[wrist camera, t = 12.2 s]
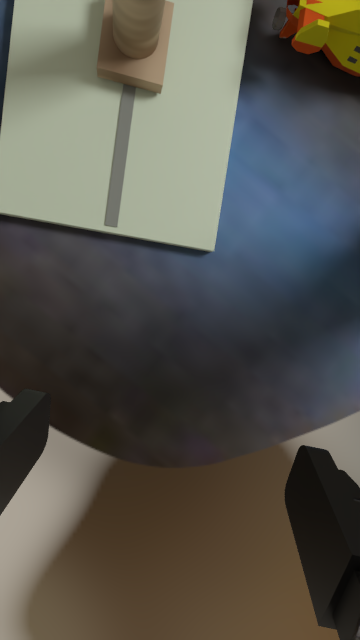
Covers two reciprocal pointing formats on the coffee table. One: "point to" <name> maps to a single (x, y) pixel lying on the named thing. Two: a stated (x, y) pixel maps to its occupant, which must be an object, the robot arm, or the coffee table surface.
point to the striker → (135, 42)
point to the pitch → (121, 124)
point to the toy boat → (324, 30)
